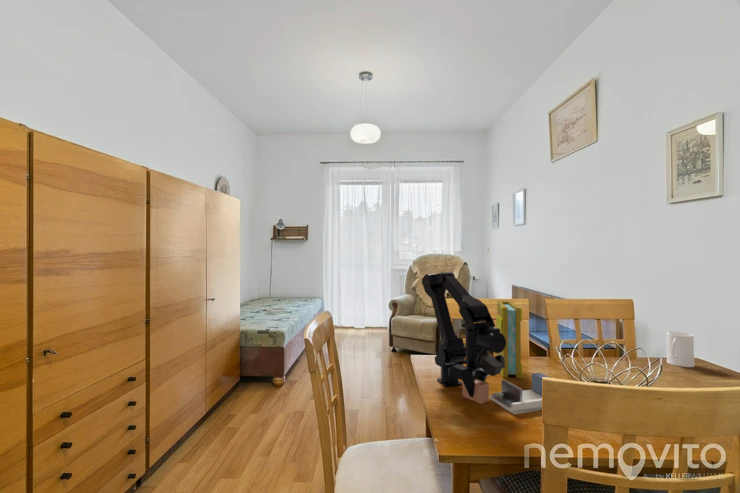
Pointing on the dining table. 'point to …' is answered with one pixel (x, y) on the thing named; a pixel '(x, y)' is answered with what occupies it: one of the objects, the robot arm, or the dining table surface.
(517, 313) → the book
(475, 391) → the book block
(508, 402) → the bookend
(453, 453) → the dining table surface
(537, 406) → the shelf
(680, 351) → the mug
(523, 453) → the dining table surface
